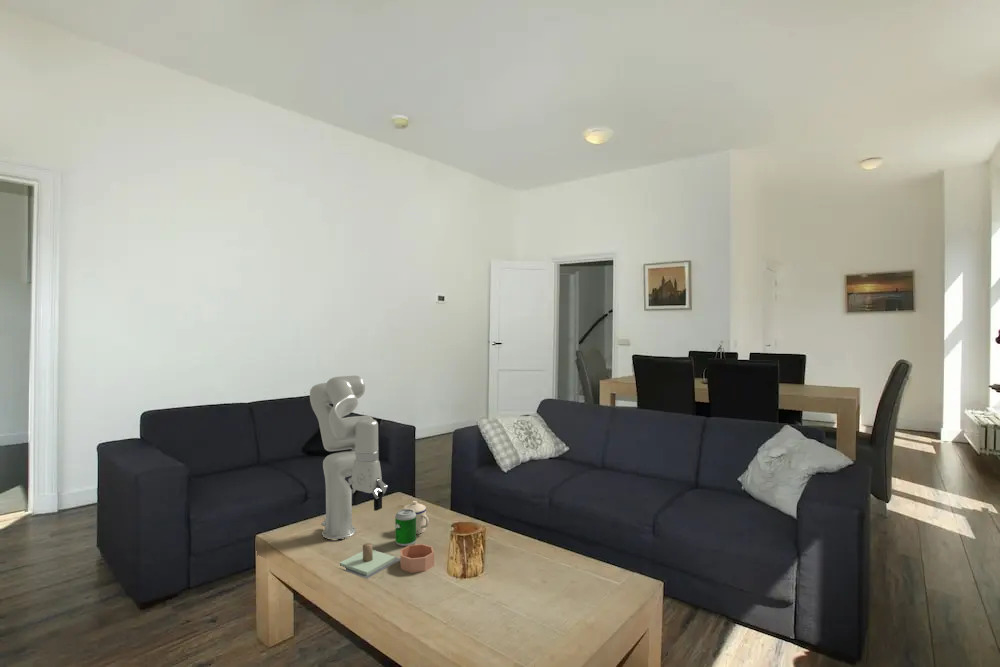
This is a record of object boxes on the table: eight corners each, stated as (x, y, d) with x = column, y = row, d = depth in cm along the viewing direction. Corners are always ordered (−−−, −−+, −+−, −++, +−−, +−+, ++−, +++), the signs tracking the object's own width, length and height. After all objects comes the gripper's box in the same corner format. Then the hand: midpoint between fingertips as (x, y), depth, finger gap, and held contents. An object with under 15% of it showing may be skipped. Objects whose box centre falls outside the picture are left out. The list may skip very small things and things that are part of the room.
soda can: (418, 540, 198) (418, 508, 197) (413, 548, 190) (413, 516, 190) (398, 539, 198) (398, 508, 198) (392, 548, 191) (392, 515, 190)
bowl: (393, 568, 175) (393, 553, 175) (415, 555, 184) (415, 541, 184) (418, 577, 169) (418, 561, 169) (440, 563, 179) (440, 549, 179)
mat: (333, 567, 175) (333, 566, 175) (368, 550, 189) (368, 548, 189) (367, 580, 167) (367, 578, 167) (401, 560, 181) (401, 559, 181)
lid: (339, 565, 176) (339, 547, 176) (368, 550, 187) (368, 534, 187) (367, 575, 169) (367, 557, 169) (395, 559, 180) (395, 542, 180)
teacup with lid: (398, 531, 205) (397, 502, 205) (414, 524, 213) (414, 495, 212) (420, 539, 198) (419, 508, 198) (436, 531, 206) (436, 502, 205)
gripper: (340, 455, 178) (341, 505, 179) (377, 462, 169) (378, 515, 170) (357, 451, 185) (358, 499, 185) (393, 457, 176) (394, 508, 176)
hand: (367, 506), depth 177 cm, fingers open, 9 cm apart
